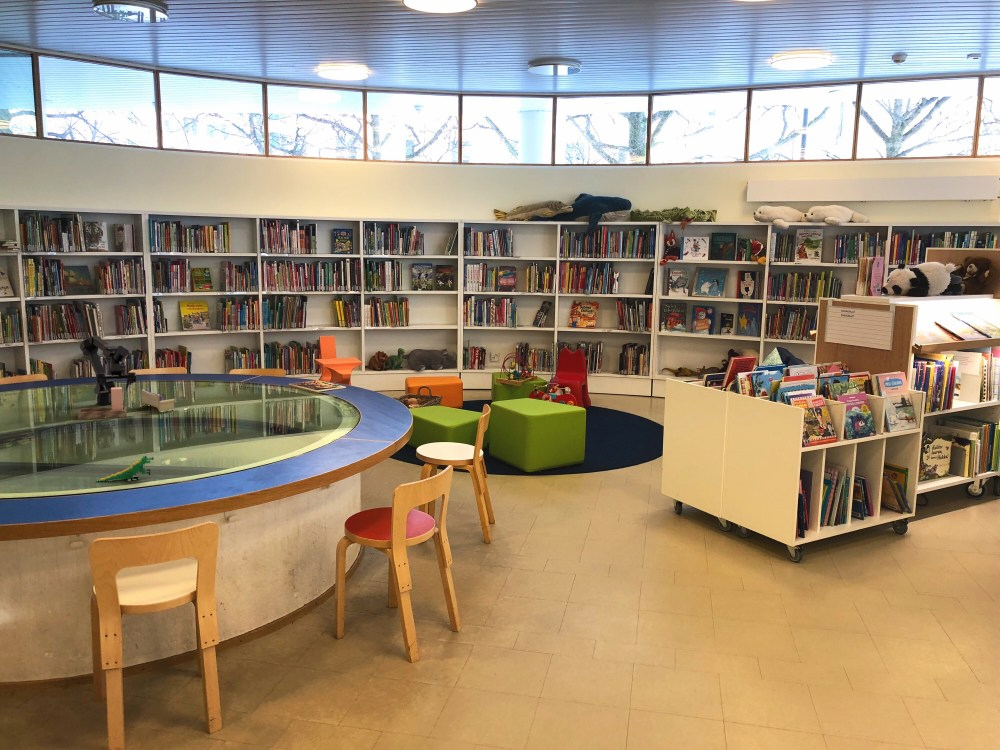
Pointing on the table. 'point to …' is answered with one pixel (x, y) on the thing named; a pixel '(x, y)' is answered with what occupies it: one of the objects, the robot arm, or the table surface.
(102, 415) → the box
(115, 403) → the coral block
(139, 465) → the crocodile
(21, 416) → the table surface
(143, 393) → the toy sofa
